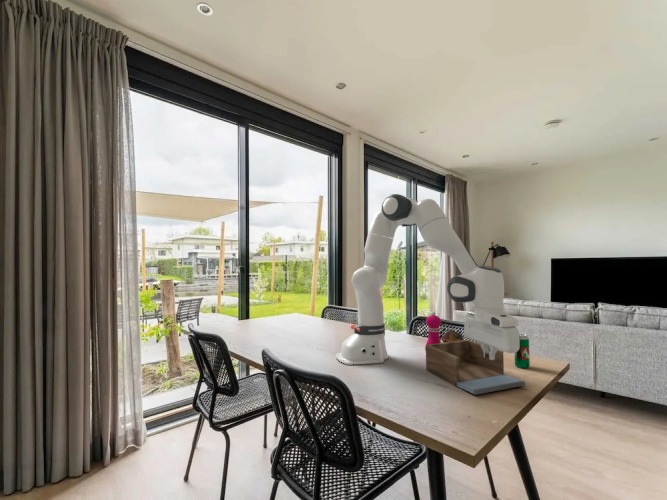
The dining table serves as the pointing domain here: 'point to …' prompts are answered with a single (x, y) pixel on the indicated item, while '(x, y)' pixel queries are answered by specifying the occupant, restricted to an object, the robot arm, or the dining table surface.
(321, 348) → the dining table surface
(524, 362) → the soda can
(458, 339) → the decorative turtle
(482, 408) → the dining table surface
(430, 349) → the box
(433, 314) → the pepper mill
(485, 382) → the panel
